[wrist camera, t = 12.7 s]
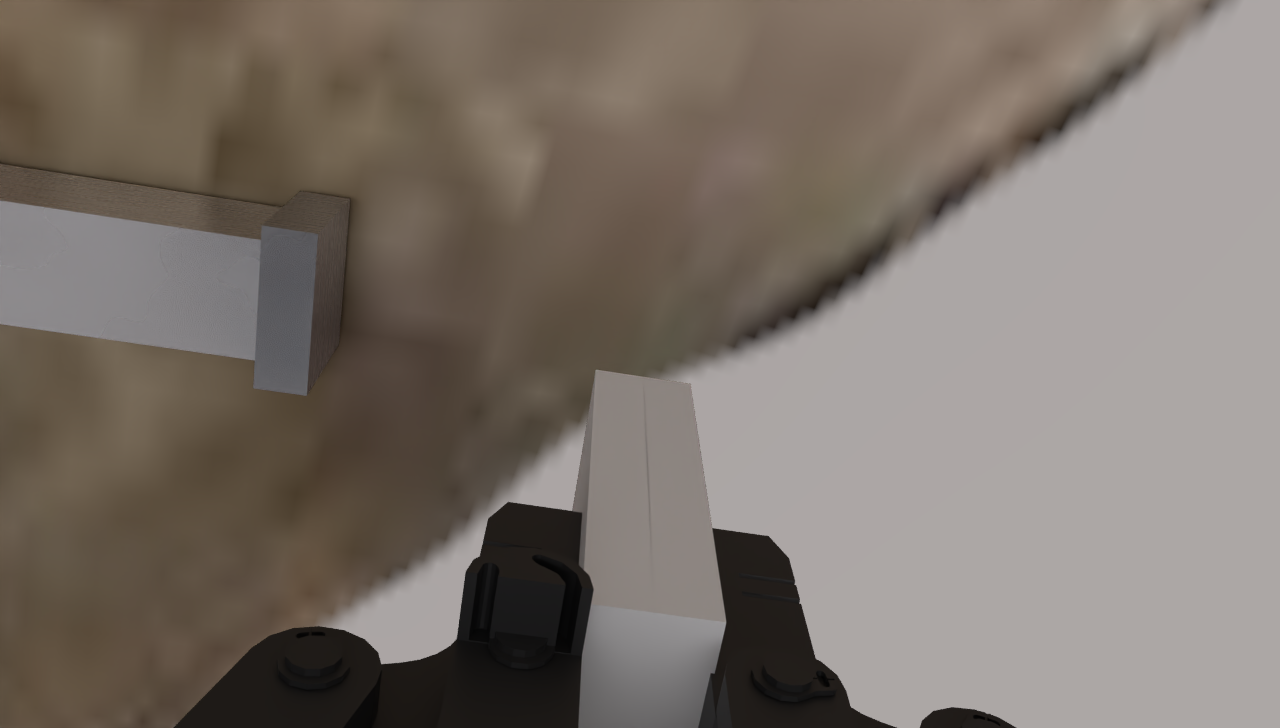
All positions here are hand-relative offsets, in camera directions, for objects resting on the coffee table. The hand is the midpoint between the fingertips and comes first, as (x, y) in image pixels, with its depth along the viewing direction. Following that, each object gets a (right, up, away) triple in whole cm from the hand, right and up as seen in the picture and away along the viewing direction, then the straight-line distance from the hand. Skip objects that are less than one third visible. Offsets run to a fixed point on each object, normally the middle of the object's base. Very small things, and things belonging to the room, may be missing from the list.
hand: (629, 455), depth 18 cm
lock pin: (-11, +4, +6) cm, 13 cm away
